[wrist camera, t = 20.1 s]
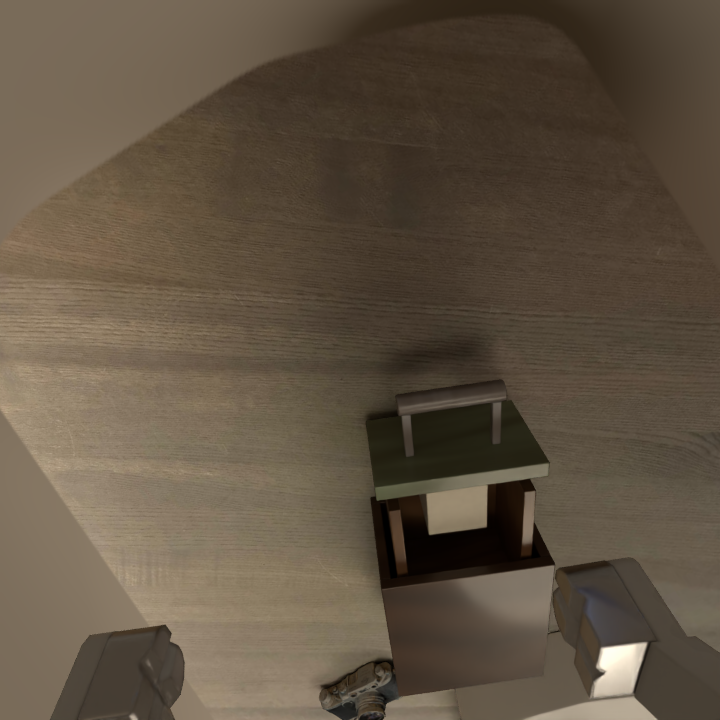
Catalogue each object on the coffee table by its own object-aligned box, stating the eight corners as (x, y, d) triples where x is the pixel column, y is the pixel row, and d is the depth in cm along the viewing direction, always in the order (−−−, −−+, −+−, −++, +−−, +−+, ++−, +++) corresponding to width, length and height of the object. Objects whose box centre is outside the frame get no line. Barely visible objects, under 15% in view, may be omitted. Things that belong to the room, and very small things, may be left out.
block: (415, 451, 38) (426, 492, 34) (471, 444, 38) (488, 484, 34) (418, 493, 40) (428, 535, 36) (471, 486, 40) (487, 527, 36)
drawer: (357, 366, 35) (365, 427, 29) (513, 343, 35) (555, 399, 29) (383, 540, 44) (393, 615, 38) (507, 522, 44) (539, 594, 38)
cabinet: (370, 497, 43) (381, 589, 35) (512, 476, 43) (555, 564, 35) (386, 600, 50) (399, 697, 42) (508, 583, 50) (543, 676, 42)
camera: (313, 688, 57) (313, 730, 53) (386, 653, 54) (391, 693, 51) (339, 706, 59) (340, 746, 55) (411, 672, 56) (417, 712, 53)
